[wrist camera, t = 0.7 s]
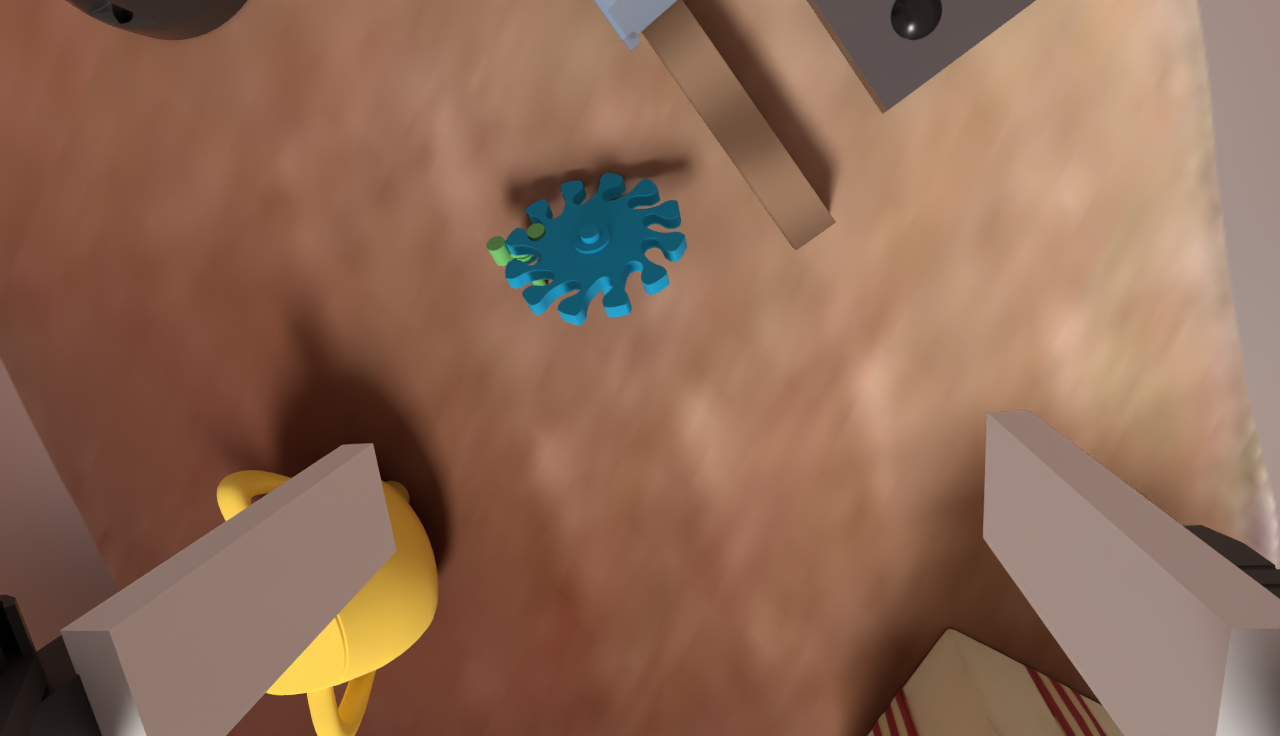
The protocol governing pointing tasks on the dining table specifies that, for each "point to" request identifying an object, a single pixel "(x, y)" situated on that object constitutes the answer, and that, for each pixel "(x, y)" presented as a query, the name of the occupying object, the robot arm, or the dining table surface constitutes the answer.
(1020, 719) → the gift box
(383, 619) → the teapot
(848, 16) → the hole plate
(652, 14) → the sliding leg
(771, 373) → the dining table surface
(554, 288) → the gear
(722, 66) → the beam
